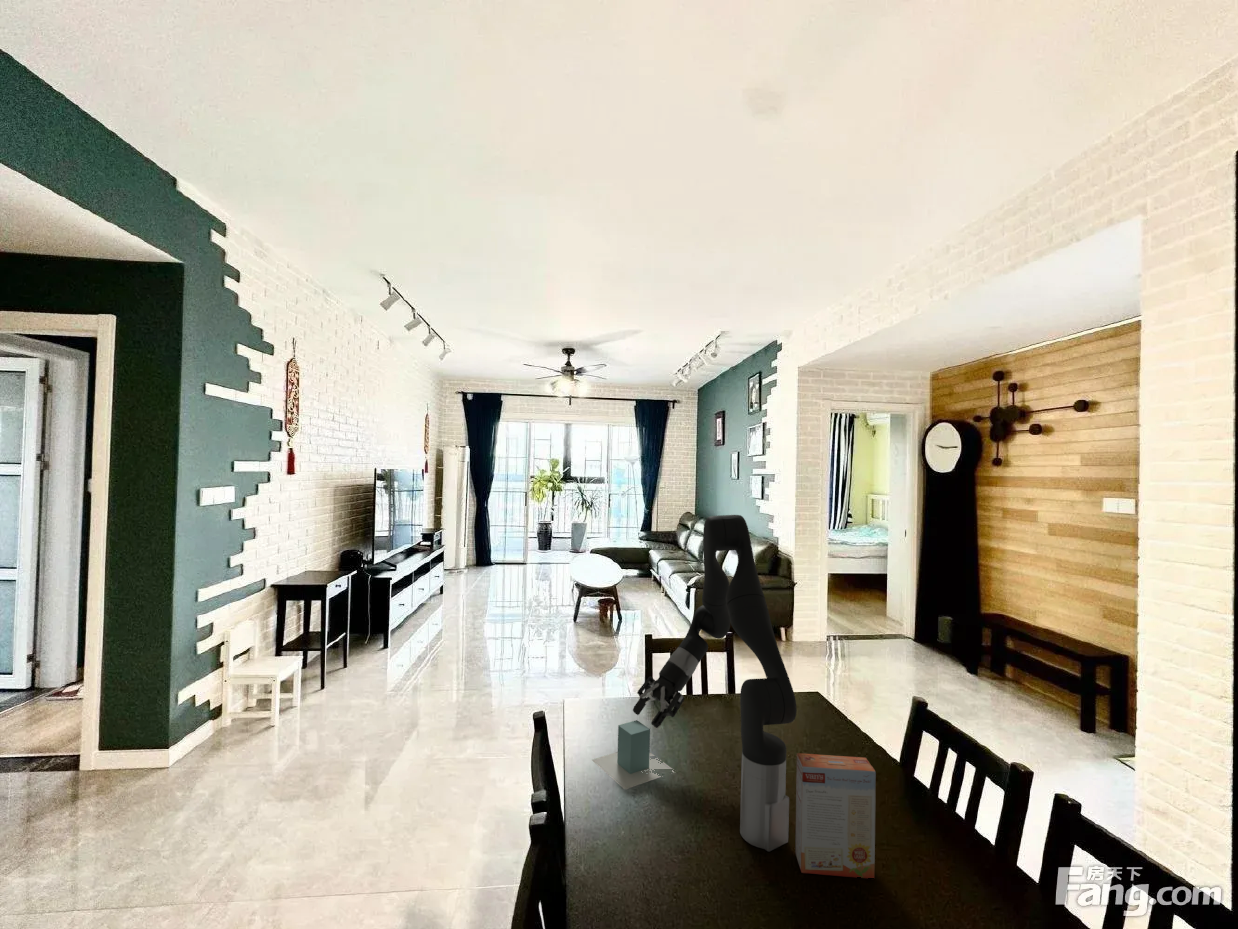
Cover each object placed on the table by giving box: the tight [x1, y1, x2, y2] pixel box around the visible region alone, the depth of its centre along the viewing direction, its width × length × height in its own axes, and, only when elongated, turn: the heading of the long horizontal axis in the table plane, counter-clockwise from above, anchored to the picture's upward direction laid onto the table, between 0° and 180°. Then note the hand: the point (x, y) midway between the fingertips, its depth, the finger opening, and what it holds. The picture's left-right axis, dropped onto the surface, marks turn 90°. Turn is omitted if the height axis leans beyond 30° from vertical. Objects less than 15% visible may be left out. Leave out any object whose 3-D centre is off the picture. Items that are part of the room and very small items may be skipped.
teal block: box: [617, 719, 651, 774], centre depth 146 cm, size 6×6×10 cm
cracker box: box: [795, 752, 877, 879], centre depth 111 cm, size 14×6×21 cm, turn 84°
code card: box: [591, 751, 675, 790], centre depth 146 cm, size 16×16×1 cm
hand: (644, 719), depth 148 cm, fingers open, 8 cm apart
